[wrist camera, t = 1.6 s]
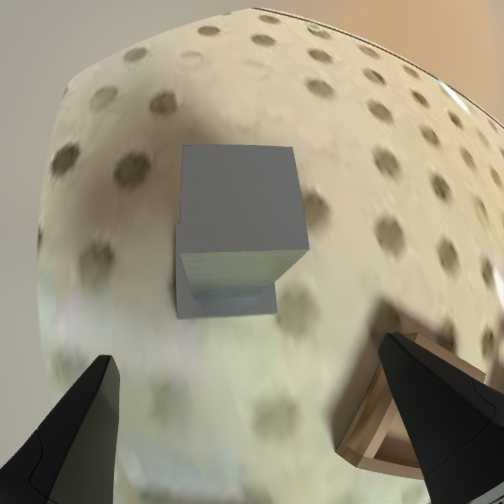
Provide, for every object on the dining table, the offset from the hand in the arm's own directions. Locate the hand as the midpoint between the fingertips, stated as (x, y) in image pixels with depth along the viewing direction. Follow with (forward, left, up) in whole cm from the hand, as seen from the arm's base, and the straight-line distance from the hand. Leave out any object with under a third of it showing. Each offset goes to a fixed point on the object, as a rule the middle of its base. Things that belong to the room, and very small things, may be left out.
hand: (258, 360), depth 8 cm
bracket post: (+5, +3, -12) cm, 14 cm away
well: (+1, -17, -12) cm, 21 cm away
